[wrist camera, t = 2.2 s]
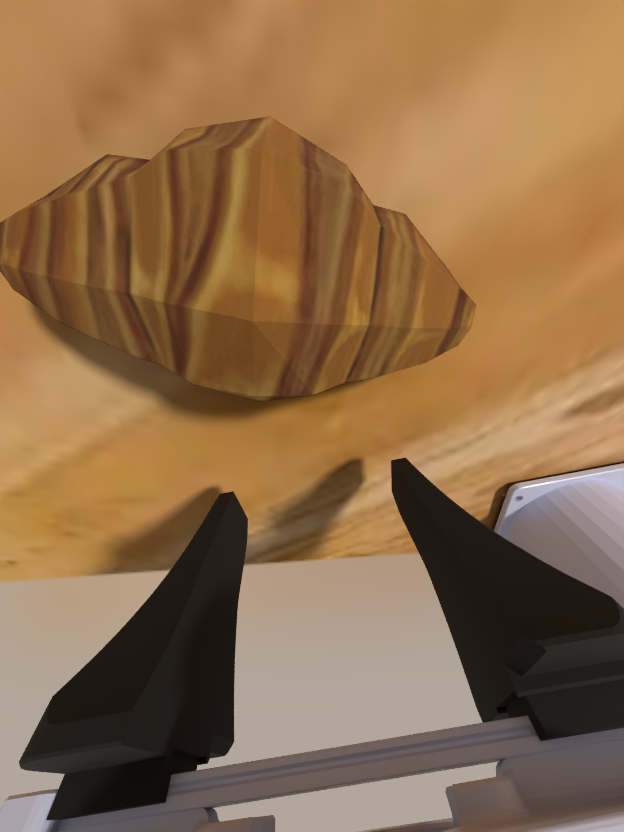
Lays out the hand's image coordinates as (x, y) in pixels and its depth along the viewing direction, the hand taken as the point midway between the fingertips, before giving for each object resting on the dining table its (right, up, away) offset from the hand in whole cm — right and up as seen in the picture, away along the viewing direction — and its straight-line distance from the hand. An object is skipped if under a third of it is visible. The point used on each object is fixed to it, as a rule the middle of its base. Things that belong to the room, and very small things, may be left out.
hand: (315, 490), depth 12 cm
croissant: (-2, +8, -3) cm, 9 cm away
